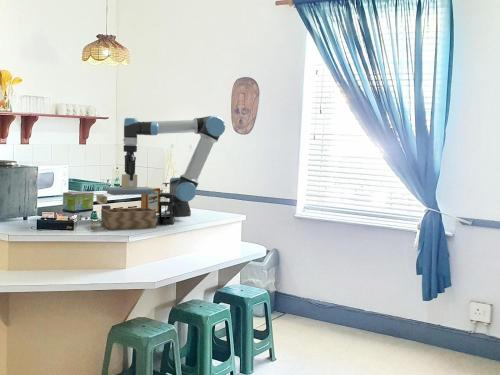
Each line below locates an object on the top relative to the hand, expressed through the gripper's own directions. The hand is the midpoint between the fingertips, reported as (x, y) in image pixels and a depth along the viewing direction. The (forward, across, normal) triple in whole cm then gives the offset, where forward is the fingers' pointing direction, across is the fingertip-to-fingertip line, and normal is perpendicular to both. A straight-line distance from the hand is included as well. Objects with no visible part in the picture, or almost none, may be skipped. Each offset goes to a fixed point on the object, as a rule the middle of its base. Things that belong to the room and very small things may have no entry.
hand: (129, 185), depth 356 cm
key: (+9, +7, -18) cm, 21 cm away
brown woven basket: (+20, +23, -8) cm, 31 cm away
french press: (+20, +20, +15) cm, 32 cm away
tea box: (+20, -14, -26) cm, 35 cm away
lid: (+5, 0, 0) cm, 5 cm away
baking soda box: (+20, -20, +20) cm, 35 cm away
